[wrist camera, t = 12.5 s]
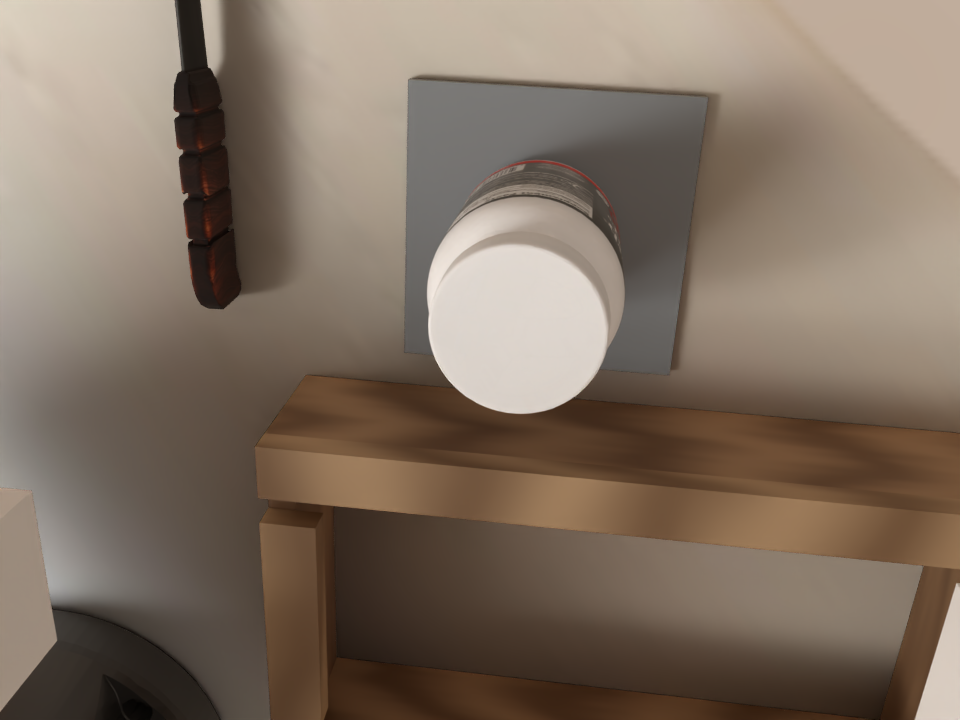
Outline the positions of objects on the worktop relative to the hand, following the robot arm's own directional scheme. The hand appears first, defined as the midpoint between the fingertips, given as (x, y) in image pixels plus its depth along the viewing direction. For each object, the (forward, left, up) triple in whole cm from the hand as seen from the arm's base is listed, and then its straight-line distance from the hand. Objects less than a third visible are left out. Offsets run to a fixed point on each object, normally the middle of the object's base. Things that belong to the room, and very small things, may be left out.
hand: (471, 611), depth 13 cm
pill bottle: (0, 0, -21) cm, 21 cm away
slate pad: (0, 0, -21) cm, 21 cm away
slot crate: (+4, -14, -21) cm, 26 cm away
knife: (-12, +5, -22) cm, 25 cm away
